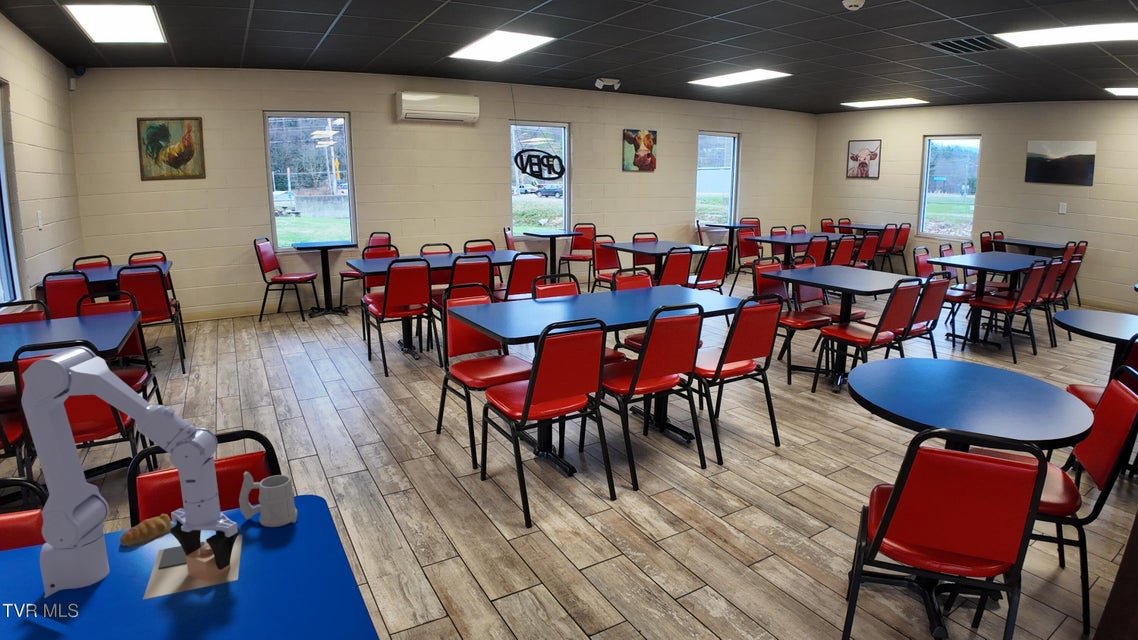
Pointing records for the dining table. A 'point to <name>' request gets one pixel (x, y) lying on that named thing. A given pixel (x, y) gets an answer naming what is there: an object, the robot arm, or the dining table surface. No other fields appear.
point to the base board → (179, 580)
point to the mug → (270, 500)
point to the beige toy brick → (203, 564)
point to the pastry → (147, 531)
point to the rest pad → (173, 557)
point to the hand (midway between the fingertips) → (209, 562)
